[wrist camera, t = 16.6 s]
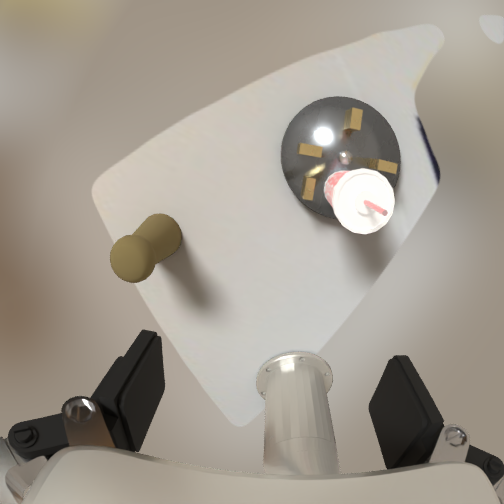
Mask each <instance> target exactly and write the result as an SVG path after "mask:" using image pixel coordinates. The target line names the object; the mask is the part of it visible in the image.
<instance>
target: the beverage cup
mask: <svg viewBox="0 0 504 504" xmlns="http://www.w3.org/2000/svg"><path fill="white" fill-rule="evenodd" d="M324 193H325V198H326V199H327V200H328V202H329V203H330V205H331V206H332V207H333V210H334V214H335V215H336V217H337V218H338V220H339V221H340V223H341V224H342V226H344V227H345V228H347V229H348V230H350V231H352V232H353V233H360V234H368V233H372V232H376V231H377V230H379V229H380V228H381V227H383V226H384V225H385V224H386V223H387V222H388V220H389V218H390V217H391V215H392V214H393V209H394V204H395V199H394V193H393V188H392V187H391V185H390V183H389V182H388V180H387V178H385V177H384V176H383V175H381V174H380V173H379V172H377V171H374V170H369V169H365V168H361V169H356V170H352V171H338V172H334V173H333V174H332V175H330V176H329V177H328V179H327V180H326V182H325V186H324Z"/></svg>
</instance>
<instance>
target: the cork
mask: <svg viewBox="0 0 504 504" xmlns="http://www.w3.org/2000/svg"><path fill="white" fill-rule="evenodd" d="M181 239H182V235H181V230H180V228H179V225H178V224H177V222H176V221H175V220H174V219H173V218H171V217H170V216H168V215H165V214H154V215H152V216H149V217H148V218H147V219H146V220H145V221H144V222H143V223H142V224H141V225H140V227H139V228H138V229H137V230H136V231H135V232H134V233H133V234H132V235H126V236H124V237H122V238H120V239H119V240H118V241H117V242H116V243H115V244H114V245H113V247H112V250H111V252H110V262H111V267H112V269H113V270H114V272H115V274H116V275H117V276H118V277H119V278H121V279H122V280H124V281H127V282H131V283H138V282H140V281H143V280H145V279H146V278H147V277H149V276H150V275H151V273H152V272H153V270H154V268H155V264H157V263H159V262H160V261H162V260H163V259H165V258H167V257H168V256H170V255H172V254H173V253H174V252H175V251H177V250H178V248H179V246H180V244H181Z"/></svg>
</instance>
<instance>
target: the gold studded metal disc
mask: <svg viewBox="0 0 504 504" xmlns="http://www.w3.org/2000/svg"><path fill="white" fill-rule="evenodd" d="M281 164H282V170H283V173H284V176H285V179H286V181H287V183H288V185H289V186H290V188H291V190H292V191H293V193H294V194H295V195H296V196H297V198H298V199H299V200H300V201H301V202H302V203H303V204H304V205H306V206H307V207H308V208H310V209H311V210H313V211H315V212H317V213H319V214H321V215H324V216H326V217H331V218H336V219H338V218H337V217H336V215H335V214H334V210H333V207H332V206H331V205H330V203H329V202H328V200H327V199H326V198H325V193H324V186H325V182H326V180H327V179H328V177H329V176H330V175H332V174H333V173H334V172H338V171H352V170H356V169H361V168H365V169H369V170H374V171H377V172H379V173H380V174H381V175H383V176H384V177H385V178H387V180H388V182H389V183H390V185H391V187H392V188H393V189H394V187H395V185H396V182H397V179H398V176H399V171H400V150H399V145H398V141H397V138H396V136H395V133H394V131H393V130H392V128H391V126H390V125H389V123H388V122H387V121H386V119H385V118H384V117H383V116H382V115H381V114H380V113H379V112H378V111H377V110H375V109H374V108H373V107H371V106H369V105H368V104H366V103H364V102H362V101H359V100H356V99H353V98H348V97H328V98H324V99H320V100H317V101H315V102H313V103H311V104H309V105H308V106H306V107H305V108H303V109H302V110H301V111H300V112H299V113H298V114H297V115H296V116H295V117H294V118H293V120H292V121H291V123H290V124H289V126H288V128H287V130H286V131H285V134H284V137H283V140H282V145H281Z"/></svg>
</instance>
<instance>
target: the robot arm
mask: <svg viewBox="0 0 504 504" xmlns="http://www.w3.org/2000/svg"><path fill="white" fill-rule="evenodd" d="M332 382H333V375H332V371H331V368H330V366H329V365H328V364H327V362H326V361H325V360H323V359H322V358H321V357H319V356H317V355H314V354H311V353H306V352H290V353H285V354H282V355H278V356H276V357H274V358H272V359H270V360H269V361H268V362H266V363H265V364H264V365H263V366H262V367H261V369H260V370H259V372H258V375H257V381H256V386H257V390H258V393H259V394H260V395H261V397H262V398H263V399H264V400H265V431H264V456H263V467H264V471H265V474H258V473H246V472H237V471H229V470H221V469H214V468H208V467H201V466H195V465H190V464H185V463H179V462H175V461H170V460H165V459H161V458H156V457H153V456H149V455H144V454H140V453H136V452H139V450H140V448H141V446H142V444H143V441H144V439H145V436H146V434H147V431H148V429H149V426H150V424H151V422H152V419H153V417H154V414H155V412H156V410H157V407H158V405H159V402H160V400H161V398H162V395H163V393H164V390H165V380H164V368H163V355H162V342H161V337H160V336H157V333H156V332H153V331H148V330H142V331H141V332H140V334H139V335H138V336H137V338H136V339H135V341H134V343H133V344H132V345H131V347H130V348H129V350H128V351H127V353H126V354H125V356H124V357H122V356H120V357H118V358H117V359H116V361H115V362H114V364H113V365H112V367H111V368H110V369H109V371H108V372H107V374H106V375H105V377H104V378H103V380H102V381H101V383H100V384H99V386H98V387H97V389H96V390H95V392H94V393H93V395H92V396H91V398H89V397H85V396H75V397H72V398H70V399H69V400H67V401H66V402H65V403H64V404H63V406H62V409H61V412H62V413H60V414H56V415H52V416H47V417H43V418H38V419H33V420H29V421H24V422H20V423H17V424H15V425H14V426H12V428H11V429H10V431H9V434H8V437H7V438H5V439H3V437H0V504H504V464H503V462H502V461H501V460H500V459H499V458H498V457H496V456H494V455H491V454H489V453H487V452H485V451H483V450H480V449H478V448H476V447H473V446H471V445H469V444H470V436H469V434H468V432H467V431H466V430H465V429H464V428H463V427H461V426H459V425H456V424H449V425H447V426H444V424H443V422H444V420H443V418H442V416H441V414H440V412H439V410H438V408H437V407H436V405H435V403H434V401H433V399H432V397H431V396H430V394H429V392H428V390H427V389H426V387H425V385H424V383H423V381H422V379H421V378H420V376H419V374H418V373H417V371H416V369H415V367H414V366H413V364H412V362H411V361H410V359H409V357H408V356H406V355H401V356H399V355H396V356H394V357H393V358H392V359H390V360H389V361H388V364H387V366H386V368H385V370H384V373H383V375H382V377H381V380H380V382H379V384H378V386H377V388H376V391H375V393H374V395H373V397H372V399H371V401H370V403H369V412H370V416H371V419H372V422H373V425H374V428H375V432H376V435H377V438H378V442H379V445H380V448H381V452H382V455H383V459H384V462H385V465H386V468H387V470H380V471H371V472H362V473H351V474H341V471H340V466H339V460H338V454H337V449H336V442H335V437H334V431H333V426H332V420H331V415H330V409H329V404H328V399H327V392H328V391H329V390H330V388H331V386H332ZM135 451H136V452H135ZM30 485H31V487H30V488H29V490H28V492H27V494H26V496H25V497H24V498H23V493H24V491H25V489H26V488H27V487H29V486H30Z"/></svg>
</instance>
